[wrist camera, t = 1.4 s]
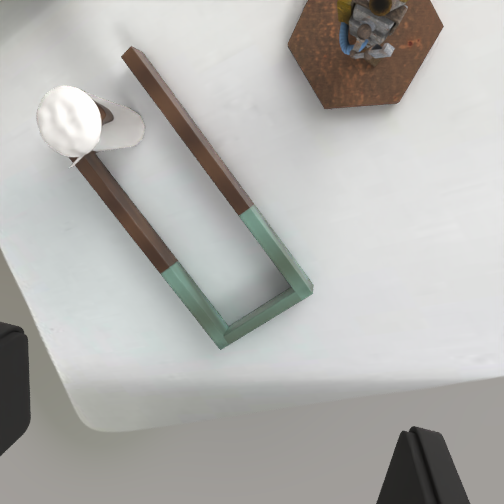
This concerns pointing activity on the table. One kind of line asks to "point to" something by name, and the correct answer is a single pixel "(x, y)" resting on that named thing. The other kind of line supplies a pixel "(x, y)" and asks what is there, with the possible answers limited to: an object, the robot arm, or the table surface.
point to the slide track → (230, 190)
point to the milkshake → (86, 123)
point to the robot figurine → (363, 48)
